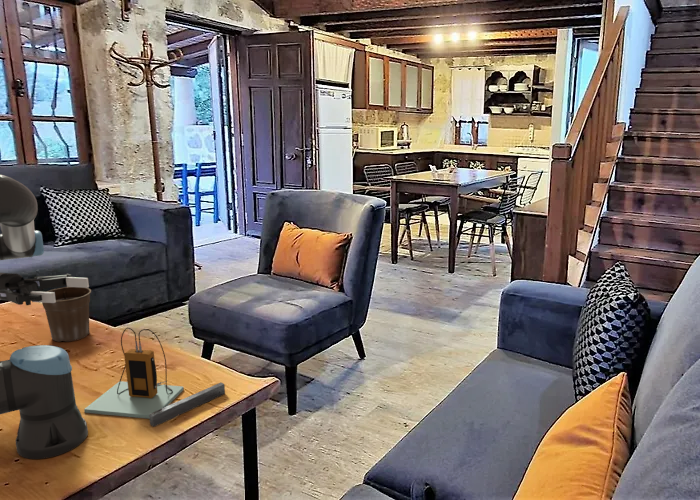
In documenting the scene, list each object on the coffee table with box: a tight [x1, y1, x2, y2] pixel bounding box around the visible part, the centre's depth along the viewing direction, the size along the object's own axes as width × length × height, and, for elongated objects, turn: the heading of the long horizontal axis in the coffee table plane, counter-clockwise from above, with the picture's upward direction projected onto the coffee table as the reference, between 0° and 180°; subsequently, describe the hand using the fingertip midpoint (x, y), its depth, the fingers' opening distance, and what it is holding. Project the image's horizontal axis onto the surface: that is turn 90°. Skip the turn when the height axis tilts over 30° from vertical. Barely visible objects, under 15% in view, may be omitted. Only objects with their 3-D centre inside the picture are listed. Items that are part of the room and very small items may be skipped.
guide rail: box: [149, 382, 226, 428], centre depth 145 cm, size 22×2×3 cm, turn 140°
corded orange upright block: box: [117, 327, 173, 398], centre depth 151 cm, size 15×10×20 cm
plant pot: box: [41, 286, 92, 343], centre depth 194 cm, size 16×16×16 cm
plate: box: [83, 380, 184, 420], centre depth 149 cm, size 16×20×1 cm
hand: (71, 289), depth 149 cm, fingers open, 13 cm apart
